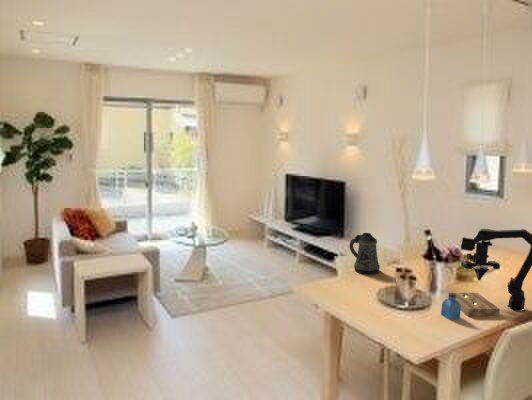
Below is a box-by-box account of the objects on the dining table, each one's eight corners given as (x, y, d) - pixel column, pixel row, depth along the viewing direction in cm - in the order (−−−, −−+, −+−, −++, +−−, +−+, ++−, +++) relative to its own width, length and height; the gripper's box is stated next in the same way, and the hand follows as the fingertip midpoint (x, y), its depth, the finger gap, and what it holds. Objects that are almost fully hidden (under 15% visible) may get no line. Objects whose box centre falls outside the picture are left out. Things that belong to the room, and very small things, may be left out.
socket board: (476, 299, 241) (477, 292, 240) (499, 316, 219) (500, 309, 218) (448, 299, 240) (448, 292, 239) (467, 316, 218) (468, 309, 218)
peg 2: (479, 309, 226) (480, 302, 226) (483, 312, 222) (484, 305, 222) (471, 309, 226) (472, 302, 226) (475, 312, 222) (476, 305, 222)
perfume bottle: (449, 319, 214) (451, 296, 212) (440, 314, 220) (442, 292, 218) (459, 318, 216) (461, 295, 214) (451, 313, 222) (453, 291, 220)
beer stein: (382, 275, 279) (384, 237, 275) (352, 274, 279) (354, 236, 275) (375, 267, 295) (377, 231, 291) (347, 266, 295) (348, 230, 291)
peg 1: (469, 301, 236) (470, 295, 236) (473, 304, 232) (474, 297, 232) (462, 301, 236) (463, 295, 236) (466, 304, 232) (466, 297, 232)
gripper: (490, 248, 242) (487, 275, 245) (457, 248, 242) (455, 275, 244) (501, 254, 231) (498, 282, 234) (467, 253, 231) (464, 282, 233)
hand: (478, 280), depth 237 cm, fingers closed
